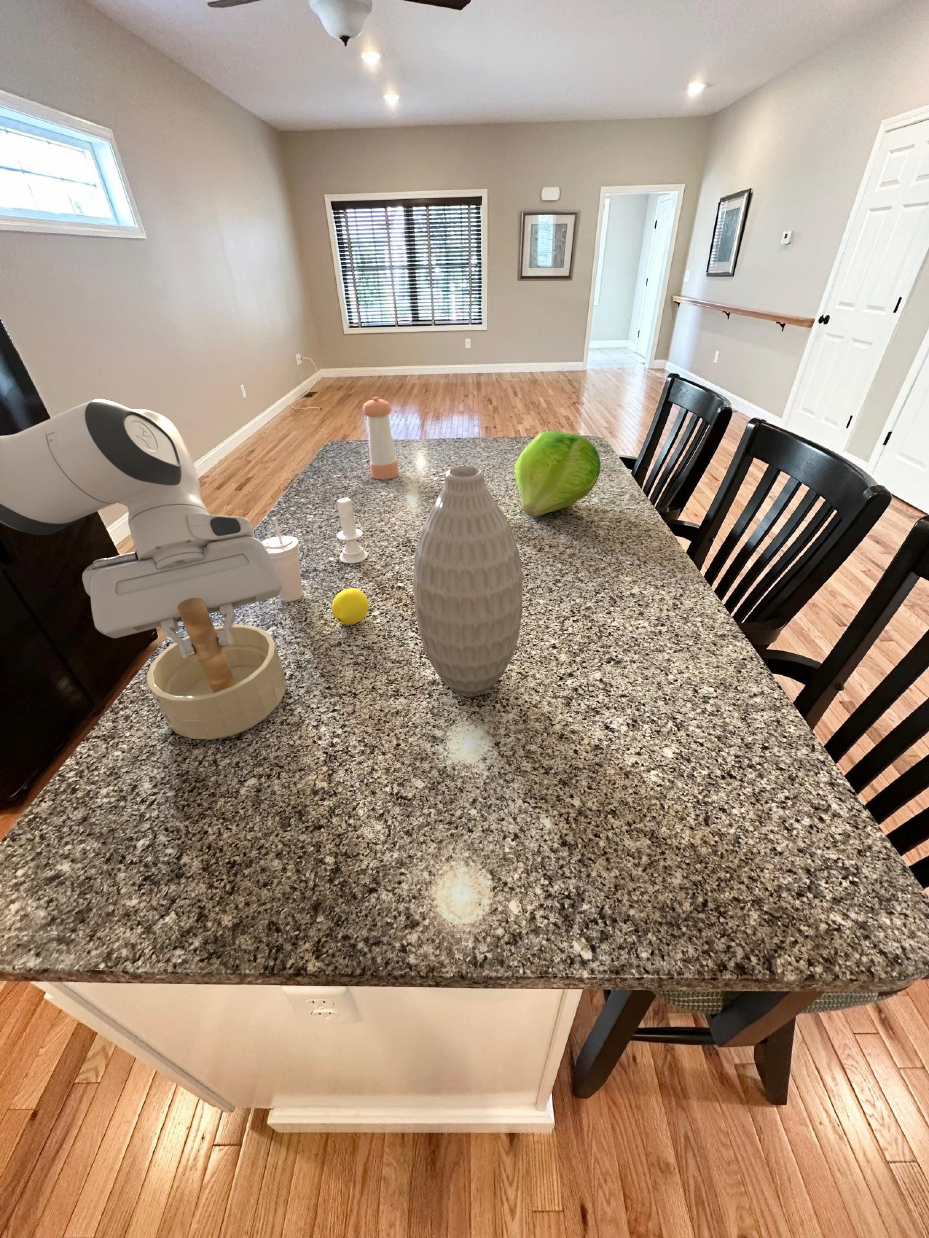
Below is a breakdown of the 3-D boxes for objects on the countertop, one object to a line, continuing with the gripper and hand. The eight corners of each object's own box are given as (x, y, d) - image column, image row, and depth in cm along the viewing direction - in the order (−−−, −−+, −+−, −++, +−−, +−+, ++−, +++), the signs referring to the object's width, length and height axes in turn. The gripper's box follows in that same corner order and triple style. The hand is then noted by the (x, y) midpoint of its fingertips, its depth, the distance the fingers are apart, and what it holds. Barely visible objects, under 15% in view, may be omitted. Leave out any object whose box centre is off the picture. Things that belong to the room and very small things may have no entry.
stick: (217, 706, 64) (178, 613, 56) (214, 693, 66) (175, 602, 58) (241, 697, 65) (205, 606, 57) (236, 684, 67) (201, 594, 59)
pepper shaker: (366, 478, 133) (355, 400, 122) (377, 469, 139) (367, 393, 128) (393, 480, 131) (384, 400, 120) (402, 470, 137) (394, 394, 126)
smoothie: (313, 600, 85) (294, 522, 77) (273, 609, 83) (250, 530, 75) (308, 582, 90) (290, 507, 82) (270, 590, 88) (248, 514, 80)
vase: (495, 728, 61) (496, 503, 45) (404, 697, 66) (375, 483, 50) (533, 665, 70) (545, 460, 54) (451, 642, 75) (439, 447, 59)
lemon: (348, 606, 83) (342, 577, 80) (378, 611, 82) (373, 582, 79) (326, 631, 78) (319, 601, 75) (357, 636, 77) (352, 606, 74)
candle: (373, 554, 98) (365, 494, 91) (354, 566, 94) (343, 504, 88) (353, 548, 101) (343, 489, 94) (333, 559, 97) (321, 499, 90)
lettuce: (488, 503, 116) (502, 465, 100) (536, 442, 121) (557, 396, 105) (549, 547, 116) (573, 516, 100) (594, 483, 121) (625, 444, 105)
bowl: (176, 762, 58) (152, 719, 54) (162, 689, 68) (142, 648, 64) (301, 712, 64) (288, 669, 60) (271, 652, 74) (259, 612, 70)
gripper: (66, 554, 56) (98, 675, 54) (260, 515, 63) (294, 620, 61) (89, 572, 62) (118, 681, 60) (264, 534, 69) (295, 631, 67)
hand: (208, 650), depth 61 cm, fingers closed on stick, 3 cm apart
